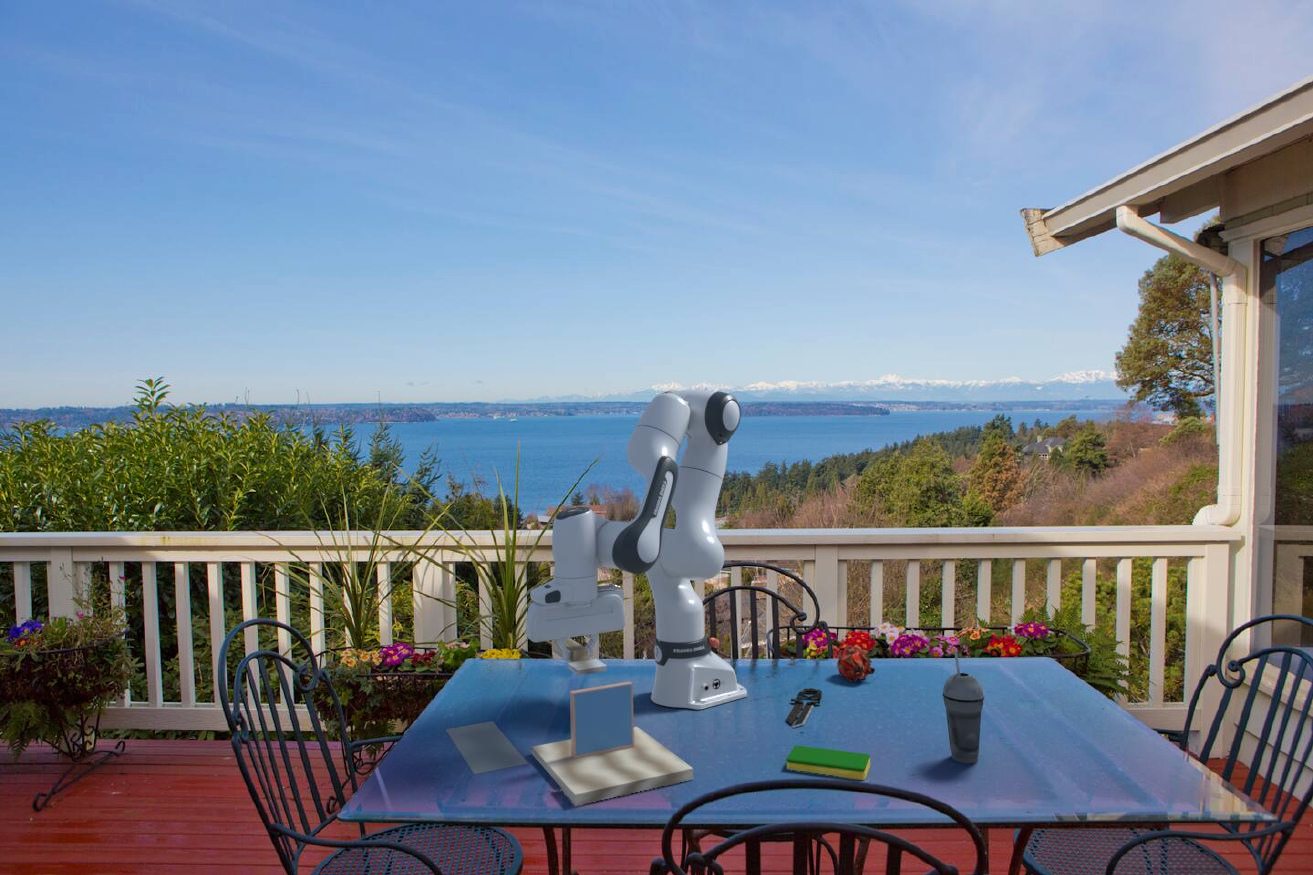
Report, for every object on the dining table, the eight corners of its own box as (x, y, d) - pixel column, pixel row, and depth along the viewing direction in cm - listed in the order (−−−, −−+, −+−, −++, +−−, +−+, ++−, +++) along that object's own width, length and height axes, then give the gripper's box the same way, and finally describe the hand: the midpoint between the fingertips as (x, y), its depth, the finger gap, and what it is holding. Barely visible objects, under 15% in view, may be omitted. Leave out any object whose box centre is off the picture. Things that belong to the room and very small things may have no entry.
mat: (492, 723, 174) (492, 721, 174) (528, 766, 151) (528, 763, 151) (445, 732, 170) (445, 729, 170) (474, 777, 146) (474, 774, 146)
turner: (572, 647, 175) (571, 633, 175) (607, 670, 157) (606, 655, 157) (545, 651, 173) (545, 637, 173) (577, 675, 155) (577, 659, 155)
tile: (630, 744, 155) (629, 681, 155) (634, 746, 154) (632, 683, 154) (571, 756, 150) (569, 691, 150) (574, 759, 149) (572, 693, 149)
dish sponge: (795, 757, 153) (795, 744, 153) (870, 766, 148) (870, 753, 148) (786, 772, 147) (786, 758, 147) (864, 782, 141) (864, 768, 141)
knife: (800, 731, 166) (800, 725, 166) (770, 727, 169) (770, 721, 169) (829, 695, 189) (829, 689, 189) (802, 692, 192) (802, 686, 192)
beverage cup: (982, 769, 145) (979, 656, 145) (939, 761, 148) (936, 651, 148) (989, 755, 151) (986, 647, 151) (948, 748, 155) (946, 643, 155)
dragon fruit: (853, 677, 207) (862, 698, 195) (825, 658, 207) (833, 679, 195) (873, 651, 206) (883, 671, 194) (845, 632, 205) (854, 651, 194)
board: (637, 736, 165) (636, 726, 165) (693, 779, 143) (693, 768, 143) (532, 757, 155) (531, 746, 155) (575, 806, 134) (575, 794, 134)
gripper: (617, 581, 171) (619, 646, 171) (522, 592, 162) (524, 661, 162) (629, 585, 165) (631, 653, 165) (531, 597, 156) (534, 669, 156)
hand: (577, 657), depth 163 cm, fingers closed on turner, 3 cm apart
